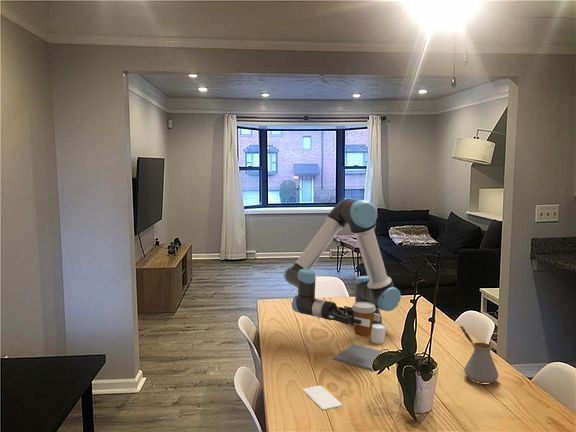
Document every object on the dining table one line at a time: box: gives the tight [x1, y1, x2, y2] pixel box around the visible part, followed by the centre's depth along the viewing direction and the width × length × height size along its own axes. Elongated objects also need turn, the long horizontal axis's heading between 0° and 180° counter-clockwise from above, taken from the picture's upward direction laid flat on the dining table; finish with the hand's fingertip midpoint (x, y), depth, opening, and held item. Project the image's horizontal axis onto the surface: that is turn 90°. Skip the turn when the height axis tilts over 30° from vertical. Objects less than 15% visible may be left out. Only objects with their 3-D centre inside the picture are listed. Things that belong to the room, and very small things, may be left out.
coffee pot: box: [457, 325, 499, 384], centre depth 170 cm, size 21×12×15 cm, turn 8°
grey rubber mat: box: [332, 343, 385, 371], centre depth 184 cm, size 18×18×1 cm
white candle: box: [370, 323, 387, 345], centre depth 202 cm, size 7×7×7 cm
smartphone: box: [302, 385, 343, 411], centre depth 152 cm, size 7×1×15 cm
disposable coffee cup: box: [351, 302, 376, 338], centre depth 183 cm, size 10×10×12 cm
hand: (374, 320), depth 180 cm, fingers closed on disposable coffee cup, 8 cm apart
